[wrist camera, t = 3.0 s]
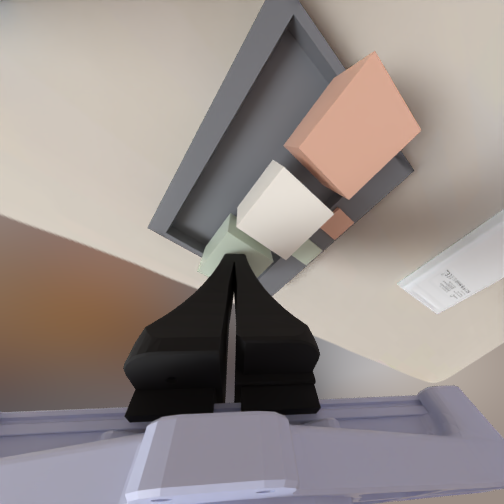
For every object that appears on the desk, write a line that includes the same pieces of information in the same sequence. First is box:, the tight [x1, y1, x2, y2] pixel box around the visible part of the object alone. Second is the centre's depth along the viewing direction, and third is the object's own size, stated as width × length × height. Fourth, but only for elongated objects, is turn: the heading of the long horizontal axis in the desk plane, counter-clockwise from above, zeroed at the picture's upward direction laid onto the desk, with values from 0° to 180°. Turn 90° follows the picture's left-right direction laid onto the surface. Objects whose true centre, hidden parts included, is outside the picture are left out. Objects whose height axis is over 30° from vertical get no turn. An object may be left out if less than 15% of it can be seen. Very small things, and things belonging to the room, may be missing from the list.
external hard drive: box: [397, 209, 504, 314], centre depth 18 cm, size 2×8×12 cm
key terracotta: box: [283, 51, 421, 200], centre depth 9 cm, size 4×4×3 cm
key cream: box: [236, 160, 334, 260], centre depth 11 cm, size 4×4×3 cm
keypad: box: [148, 0, 414, 296], centre depth 13 cm, size 12×14×2 cm
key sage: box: [197, 213, 274, 278], centre depth 13 cm, size 4×4×3 cm
